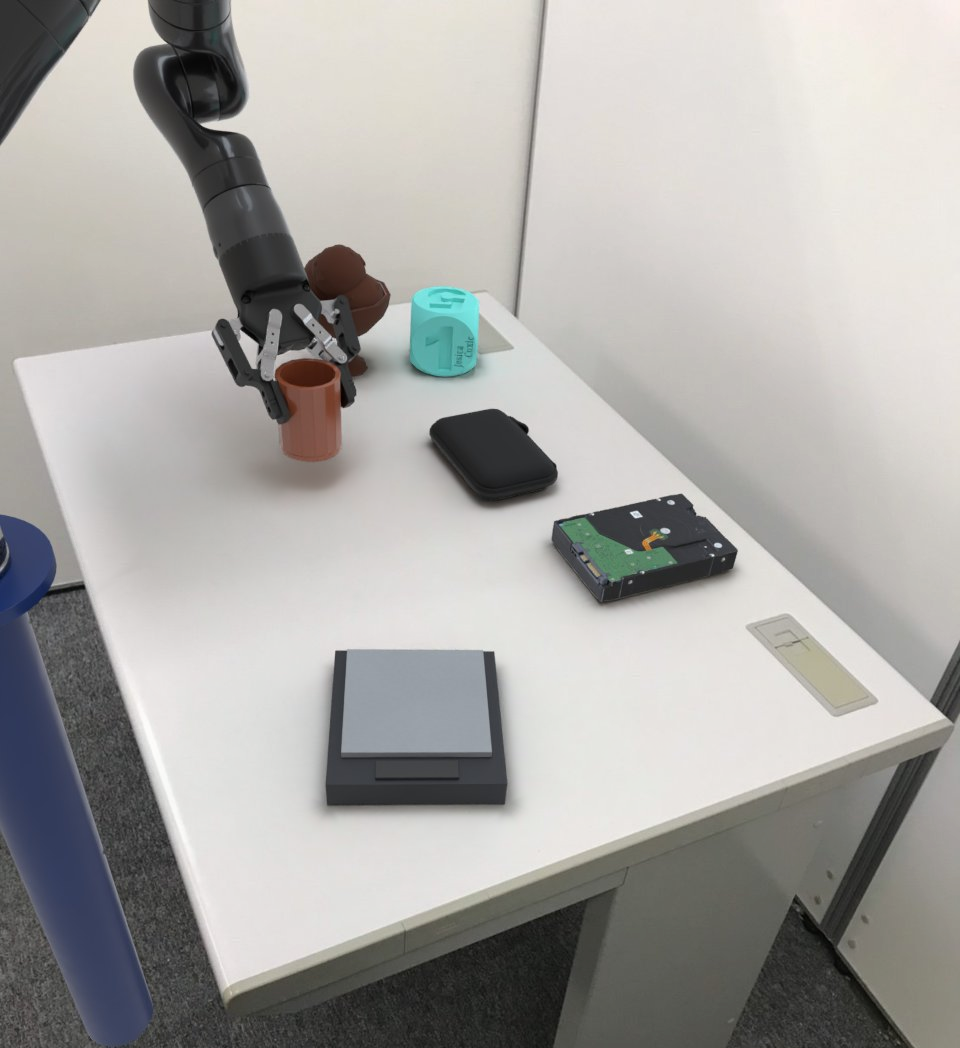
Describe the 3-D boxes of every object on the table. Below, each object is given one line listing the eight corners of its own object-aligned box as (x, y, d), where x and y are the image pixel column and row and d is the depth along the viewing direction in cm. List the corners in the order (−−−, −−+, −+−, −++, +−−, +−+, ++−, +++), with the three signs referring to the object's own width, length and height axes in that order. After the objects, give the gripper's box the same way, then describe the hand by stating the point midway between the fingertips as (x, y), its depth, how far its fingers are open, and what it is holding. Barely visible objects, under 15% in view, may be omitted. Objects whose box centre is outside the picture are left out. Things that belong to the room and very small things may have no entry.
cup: (277, 461, 99) (271, 388, 94) (282, 428, 103) (277, 357, 98) (340, 463, 99) (338, 390, 94) (343, 430, 104) (341, 359, 99)
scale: (326, 805, 73) (325, 779, 71) (336, 671, 83) (334, 644, 81) (504, 804, 74) (508, 778, 72) (492, 671, 84) (495, 645, 82)
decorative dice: (409, 375, 121) (410, 312, 116) (411, 345, 127) (412, 283, 122) (475, 378, 121) (479, 316, 116) (474, 348, 127) (478, 287, 122)
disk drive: (675, 514, 103) (548, 542, 98) (680, 491, 101) (551, 518, 96) (733, 573, 96) (601, 607, 91) (741, 549, 94) (605, 582, 89)
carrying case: (572, 490, 105) (508, 422, 114) (576, 465, 103) (510, 398, 112) (481, 511, 101) (422, 439, 111) (483, 485, 99) (423, 414, 109)
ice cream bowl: (406, 374, 121) (408, 251, 111) (324, 396, 116) (318, 269, 106) (363, 339, 127) (360, 219, 117) (283, 358, 122) (273, 234, 112)
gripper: (191, 242, 90) (259, 419, 91) (334, 219, 96) (395, 384, 97) (176, 278, 96) (239, 442, 97) (310, 254, 103) (368, 408, 104)
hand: (317, 412), depth 97 cm, fingers closed on cup, 6 cm apart
